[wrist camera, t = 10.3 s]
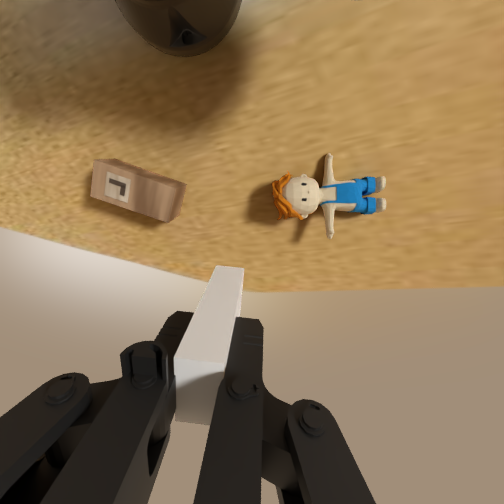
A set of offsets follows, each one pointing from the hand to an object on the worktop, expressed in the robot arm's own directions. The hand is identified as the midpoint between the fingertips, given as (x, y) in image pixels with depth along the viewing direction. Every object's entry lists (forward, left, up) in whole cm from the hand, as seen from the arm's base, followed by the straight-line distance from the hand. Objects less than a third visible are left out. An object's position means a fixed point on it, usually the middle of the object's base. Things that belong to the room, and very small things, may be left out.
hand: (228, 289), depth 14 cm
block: (+6, -9, -24) cm, 26 cm away
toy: (-7, +8, -27) cm, 29 cm away
